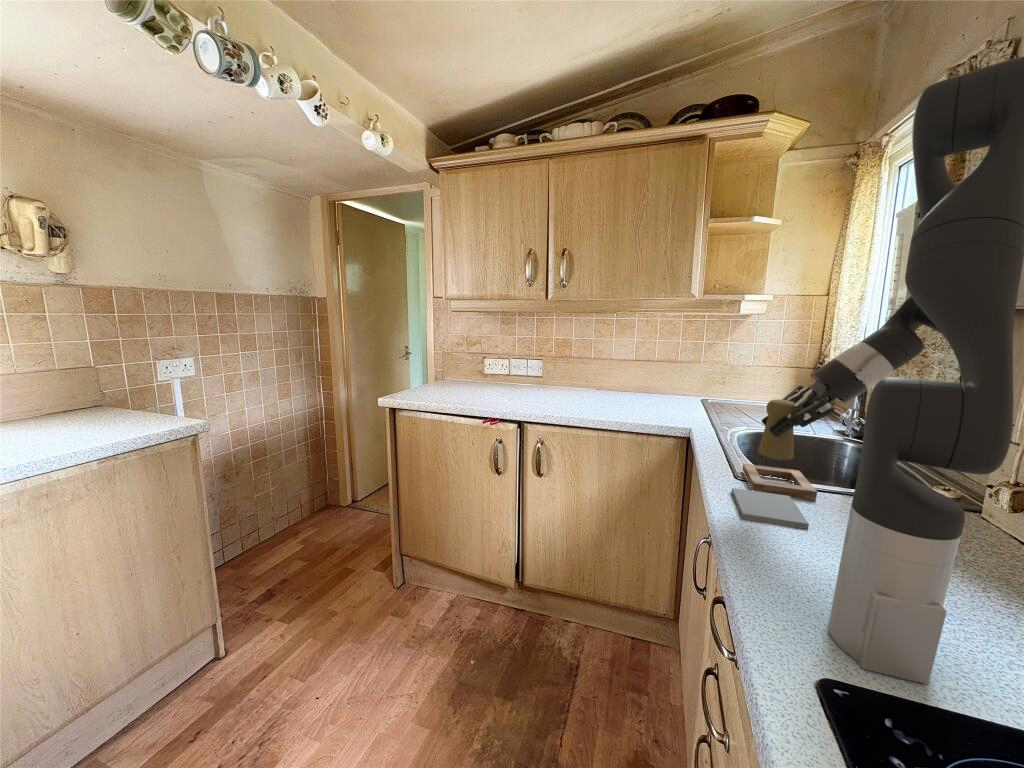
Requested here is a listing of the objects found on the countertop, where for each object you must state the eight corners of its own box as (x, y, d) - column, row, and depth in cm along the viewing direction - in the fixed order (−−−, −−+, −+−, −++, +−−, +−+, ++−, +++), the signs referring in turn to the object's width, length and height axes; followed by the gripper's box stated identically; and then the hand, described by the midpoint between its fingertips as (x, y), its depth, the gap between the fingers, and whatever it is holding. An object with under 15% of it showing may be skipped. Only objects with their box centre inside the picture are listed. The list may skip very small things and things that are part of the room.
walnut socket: (815, 500, 88) (817, 491, 88) (752, 491, 92) (753, 483, 92) (797, 478, 100) (799, 470, 99) (742, 471, 103) (743, 463, 103)
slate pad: (808, 528, 77) (808, 523, 77) (742, 518, 81) (742, 513, 80) (788, 500, 88) (789, 495, 88) (731, 492, 92) (732, 487, 92)
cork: (760, 446, 86) (767, 395, 84) (795, 453, 83) (803, 400, 80) (755, 454, 82) (762, 401, 79) (791, 462, 78) (800, 406, 76)
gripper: (822, 353, 82) (747, 406, 89) (854, 363, 69) (763, 424, 75) (849, 381, 82) (771, 432, 88) (887, 396, 69) (792, 455, 75)
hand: (768, 428), depth 82 cm, fingers closed on cork, 5 cm apart
